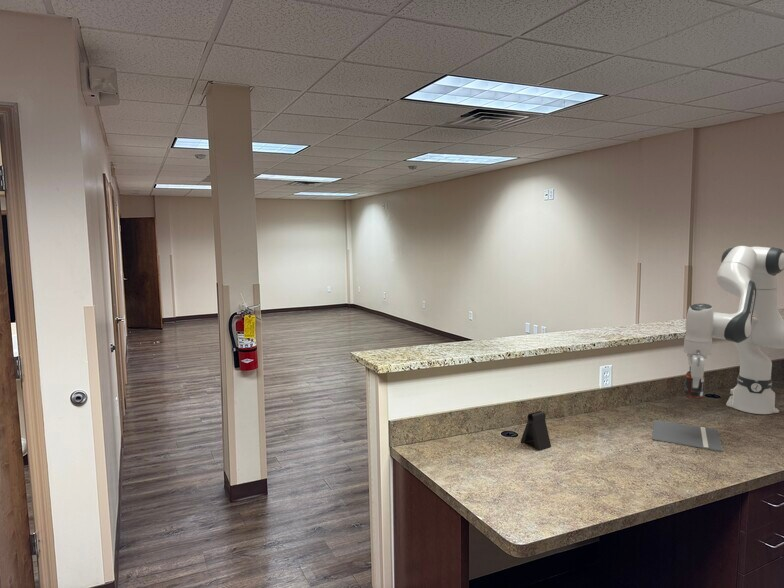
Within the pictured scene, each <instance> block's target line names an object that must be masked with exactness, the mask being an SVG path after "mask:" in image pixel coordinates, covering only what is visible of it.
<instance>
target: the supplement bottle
mask: <svg viewBox="0 0 784 588" xmlns="http://www.w3.org/2000/svg"><path fill="white" fill-rule="evenodd" d="M690 368H691V367H689V370H688V371H687V372H686V374H685V386H684V390H685V391H684V396H685V397H687V398H689V399H697V400H698V399H699V400H700V399H703V398H704V394H705V393H704V391H705V374H704V375H703V379H700V380H699V385H698V388H693V378H692V377H691V372H690Z"/></svg>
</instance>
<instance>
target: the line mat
mask: <svg viewBox="0 0 784 588" xmlns="http://www.w3.org/2000/svg"><path fill="white" fill-rule="evenodd" d="M654 440H658V441H657V442H660V441H664V442H663V443H666V442H669V443H668V444H672V443H674V444H675V445H678V444H679V445H680V446H686V447H691V448H698V449H703V450H709V451H715V452H719V453H720V452H721V453H723V446H722V441H721V437H720V433H719V429H718V428H717V429H716V428H711V427H705V426H696V425H690V424H683V423H677V422H673V421H671V422H670V421H665V420H657V419H654V420H653V427H652V441H654ZM674 444H673V445H674Z"/></svg>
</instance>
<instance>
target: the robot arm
mask: <svg viewBox="0 0 784 588" xmlns="http://www.w3.org/2000/svg"><path fill="white" fill-rule="evenodd" d="M783 271H784V250H783V249H782V248H779V247H775V246H773V247H768V246H767V247H766V246H747V245H737V246H735V247H730V248H727V249H726V250H724V251H723V253H722V255H721V264H720V267H719V268H718V269H717V273H716V282H717V285H719V287H720V288H721V289H723V290H724V291H725V292H726V293H729V294H732V295H734V296H736V297H739V304H738V309H737V312H735V313H724V312H718V311H714V307H713V306H712V305H710V304H707V303H695V304H694V303H693V304H690V306H689V307H688V309H687V313H686V319H685V324H684V325H685V327H684V328H685V336H684V338H683V339H684V341H683V342H684V343H683V352H684V353H686V354H687V355H686V356H687V359H688V366H689V369H690V370H689V371H690V372H691V377H692V378H693V388H698V385H699V380H700V379H703V375H705V360H706V359H708V356H710V355H712V352H713V351H712V350H713V349H712V348H713V339H719V340H724V341H725V340H726V341H729V342H732V343H733V344H734V346H735V348H736V349H737V352H738V356H739V374H738V375H737V381H736V382H737V384H736V385H735V386H734V387H733V388H730V392H729V393H730V394H731V395H730V396H729V397H728V399H727V402H726V403H725V406H727V407H730V408H732V409H735V410H739V411H741V412H745V413H748V414H755V415H770V414H779V413H780V410H779V409H778V408H777V407H775V403H776V393H775V392H774V391H773V390H772V385H773V381H772V380H773V379H772V369H773V362H772V360H771V357H769V356H767V355H766V354H765V353H763V351H762V350H761V348H760V347H765V348H769V349H770V348H771V349H784V318H783V317H782V315H781V313H780V310H779V309H778V308H779V307H778V301H777V300H778V299H777V298H778V297H777V295H778V294H777V293H778V290H777V289H778V278H777V274H778V275H779V274H780V273H781V272H783ZM753 314H754V315H755V317H756V318H753ZM690 367H691V368H690Z"/></svg>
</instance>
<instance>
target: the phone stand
mask: <svg viewBox="0 0 784 588" xmlns="http://www.w3.org/2000/svg"><path fill="white" fill-rule="evenodd" d="M520 443H522V444H523V445H526V446H527V447H530V448H532V449H534V450H536V451H542V450H546V449H548V448H549V449H550V448H551V447H552V443H551V441H550V434H549V431H548V428H547V421H546V413H545V411H543V410H539V411H535V412H531V413H528V414H527V421H526V425H525V428H524V430H523V433H522V436H521V438H520Z"/></svg>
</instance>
